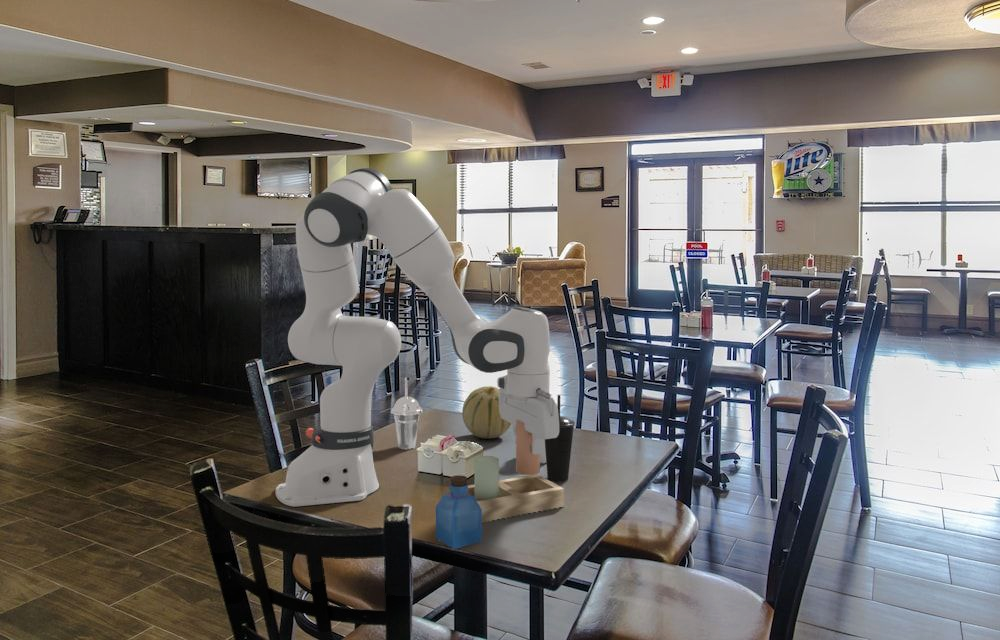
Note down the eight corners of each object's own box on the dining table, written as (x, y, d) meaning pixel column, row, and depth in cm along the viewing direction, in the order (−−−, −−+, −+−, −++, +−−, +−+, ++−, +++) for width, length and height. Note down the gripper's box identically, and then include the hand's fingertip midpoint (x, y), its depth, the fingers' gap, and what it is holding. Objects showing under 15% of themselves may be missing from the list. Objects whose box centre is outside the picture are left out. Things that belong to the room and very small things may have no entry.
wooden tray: (474, 524, 149) (474, 504, 149) (451, 506, 159) (451, 488, 158) (563, 507, 159) (564, 488, 159) (536, 491, 169) (537, 474, 168)
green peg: (481, 516, 153) (481, 464, 152) (470, 509, 158) (470, 457, 156) (502, 512, 156) (503, 460, 154) (491, 505, 160) (491, 454, 159)
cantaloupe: (489, 428, 224) (489, 378, 222) (524, 438, 213) (525, 385, 212) (450, 437, 214) (450, 385, 212) (485, 447, 203) (485, 393, 202)
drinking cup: (565, 472, 183) (566, 390, 180) (579, 481, 176) (581, 397, 173) (536, 475, 180) (537, 393, 178) (549, 485, 173) (551, 399, 171)
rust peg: (543, 472, 159) (544, 421, 157) (522, 476, 156) (523, 424, 155) (532, 466, 163) (533, 416, 162) (511, 469, 161) (512, 418, 159)
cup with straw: (427, 444, 207) (427, 372, 204) (415, 453, 198) (415, 378, 196) (398, 441, 209) (397, 370, 207) (385, 450, 200) (384, 376, 198)
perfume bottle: (453, 549, 137) (453, 485, 136) (435, 538, 142) (435, 476, 141) (481, 541, 141) (481, 479, 140) (463, 531, 146) (463, 470, 145)
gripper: (567, 393, 150) (566, 460, 151) (519, 375, 168) (518, 435, 169) (539, 396, 147) (539, 465, 148) (493, 377, 165) (493, 439, 167)
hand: (527, 449), depth 159 cm, fingers closed on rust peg, 5 cm apart
